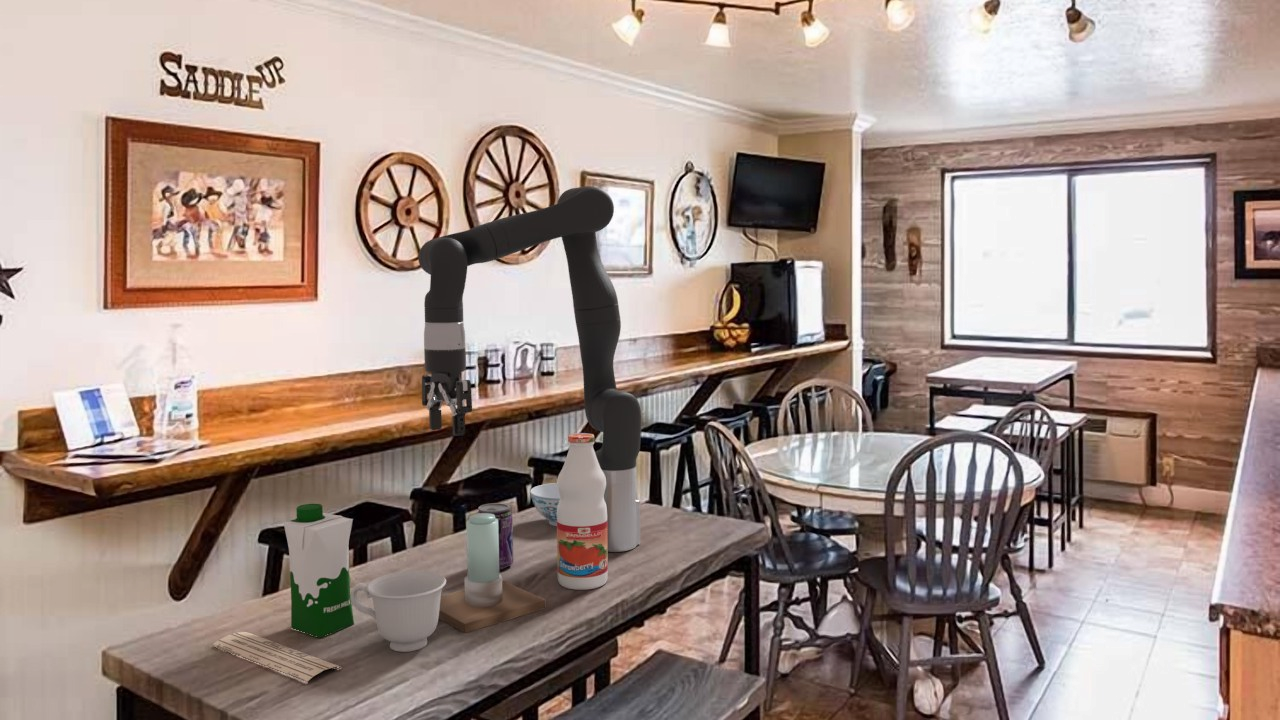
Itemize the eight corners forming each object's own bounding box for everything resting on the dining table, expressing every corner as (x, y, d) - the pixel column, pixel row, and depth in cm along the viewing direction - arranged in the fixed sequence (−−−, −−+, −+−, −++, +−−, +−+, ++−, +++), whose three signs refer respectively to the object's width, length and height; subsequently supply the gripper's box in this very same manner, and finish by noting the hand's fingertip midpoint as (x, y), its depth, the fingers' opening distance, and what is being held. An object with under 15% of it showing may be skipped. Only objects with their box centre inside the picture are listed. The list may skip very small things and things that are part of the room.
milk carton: (326, 613, 157) (321, 498, 155) (362, 623, 152) (358, 506, 150) (282, 630, 149) (277, 510, 148) (319, 642, 145) (314, 518, 143)
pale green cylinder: (488, 570, 162) (486, 510, 161) (505, 577, 158) (504, 516, 157) (461, 577, 158) (460, 516, 157) (478, 585, 154) (477, 522, 153)
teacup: (365, 629, 150) (363, 569, 149) (455, 629, 149) (454, 570, 148) (338, 660, 138) (336, 596, 137) (437, 661, 137) (435, 596, 136)
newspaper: (213, 651, 143) (212, 640, 143) (254, 636, 149) (253, 625, 149) (307, 689, 130) (306, 677, 130) (348, 671, 136) (347, 659, 136)
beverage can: (506, 573, 177) (505, 512, 176) (471, 571, 179) (470, 510, 177) (518, 561, 184) (517, 503, 183) (484, 559, 185) (483, 501, 184)
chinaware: (517, 523, 212) (516, 490, 211) (563, 510, 223) (563, 479, 222) (563, 535, 202) (562, 501, 201) (609, 521, 213) (608, 488, 212)
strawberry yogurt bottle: (607, 573, 177) (606, 430, 174) (607, 590, 167) (606, 439, 165) (558, 574, 176) (557, 430, 174) (556, 591, 167) (554, 440, 164)
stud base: (500, 587, 169) (500, 558, 169) (545, 608, 159) (544, 577, 158) (422, 609, 158) (421, 578, 158) (465, 632, 148) (464, 600, 148)
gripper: (482, 347, 167) (484, 435, 169) (443, 343, 178) (445, 425, 180) (446, 350, 162) (448, 440, 164) (408, 345, 173) (410, 430, 175)
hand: (447, 432), depth 172 cm, fingers open, 8 cm apart
